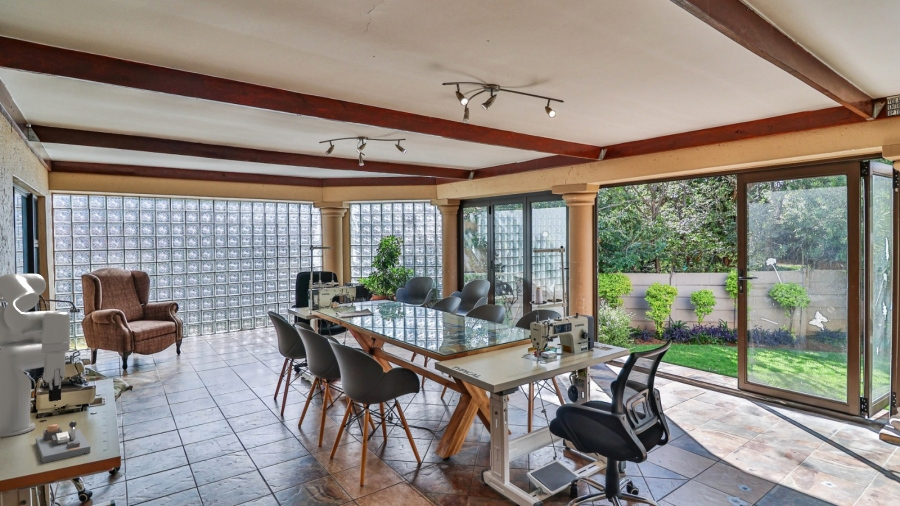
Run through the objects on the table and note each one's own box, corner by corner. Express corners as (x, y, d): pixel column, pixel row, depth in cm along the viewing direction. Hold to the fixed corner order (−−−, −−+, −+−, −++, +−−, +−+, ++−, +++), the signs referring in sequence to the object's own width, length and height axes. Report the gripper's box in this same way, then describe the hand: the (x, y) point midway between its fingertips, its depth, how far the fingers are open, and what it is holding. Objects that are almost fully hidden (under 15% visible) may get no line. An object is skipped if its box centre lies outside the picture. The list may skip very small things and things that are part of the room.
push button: (46, 434, 163) (46, 425, 163) (57, 431, 165) (57, 423, 165) (47, 436, 161) (47, 427, 161) (58, 434, 163) (59, 425, 163)
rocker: (56, 436, 160) (56, 433, 160) (67, 434, 162) (67, 431, 162) (57, 443, 157) (58, 440, 157) (69, 441, 159) (69, 437, 159)
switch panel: (35, 443, 163) (36, 430, 163) (79, 434, 171) (79, 422, 172) (42, 463, 148) (43, 448, 148) (90, 452, 156) (90, 438, 156)
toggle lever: (69, 440, 156) (68, 422, 158) (76, 439, 158) (76, 421, 160) (70, 439, 155) (69, 421, 157) (77, 438, 156) (77, 420, 158)
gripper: (39, 346, 166) (38, 398, 165) (44, 351, 156) (42, 407, 155) (66, 343, 171) (65, 394, 171) (72, 348, 161) (71, 402, 160)
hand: (54, 400), depth 163 cm, fingers closed
